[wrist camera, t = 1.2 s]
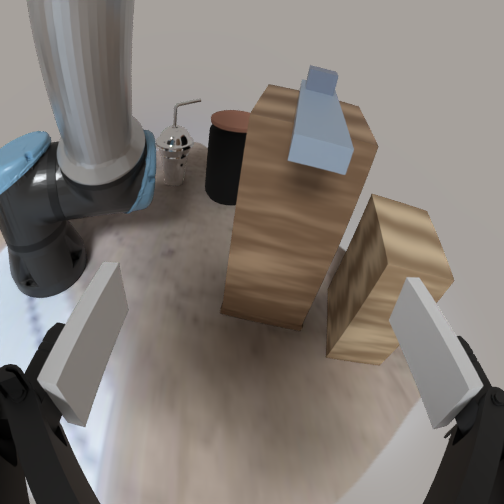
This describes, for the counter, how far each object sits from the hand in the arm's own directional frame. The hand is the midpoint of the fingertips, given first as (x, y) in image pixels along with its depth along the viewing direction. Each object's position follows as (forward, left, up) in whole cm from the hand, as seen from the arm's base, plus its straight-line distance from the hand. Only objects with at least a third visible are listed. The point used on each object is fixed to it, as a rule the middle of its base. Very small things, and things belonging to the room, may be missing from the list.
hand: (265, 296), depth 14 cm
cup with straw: (-48, +28, -29) cm, 62 cm away
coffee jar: (-37, +35, -29) cm, 58 cm away
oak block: (+2, +27, -28) cm, 39 cm away
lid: (-10, +18, +2) cm, 20 cm away
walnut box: (-13, +22, -28) cm, 38 cm away
